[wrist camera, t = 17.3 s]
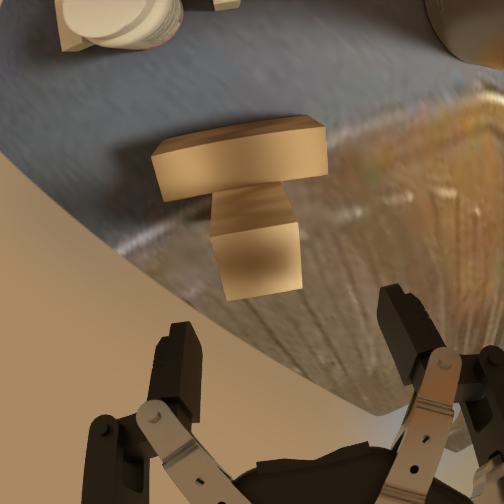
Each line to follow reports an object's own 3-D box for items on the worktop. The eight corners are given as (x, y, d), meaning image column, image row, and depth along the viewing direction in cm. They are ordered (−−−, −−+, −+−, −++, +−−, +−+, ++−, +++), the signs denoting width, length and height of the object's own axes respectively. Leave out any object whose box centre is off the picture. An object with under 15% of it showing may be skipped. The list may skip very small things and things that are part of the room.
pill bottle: (100, 33, 15) (35, 25, 8) (141, -23, 13) (97, -64, 6) (155, 63, 17) (114, 64, 10) (199, 6, 15) (184, -30, 8)
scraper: (307, 115, 20) (360, 151, 12) (314, 204, 24) (355, 277, 16) (163, 139, 20) (127, 191, 12) (186, 226, 24) (172, 309, 16)
